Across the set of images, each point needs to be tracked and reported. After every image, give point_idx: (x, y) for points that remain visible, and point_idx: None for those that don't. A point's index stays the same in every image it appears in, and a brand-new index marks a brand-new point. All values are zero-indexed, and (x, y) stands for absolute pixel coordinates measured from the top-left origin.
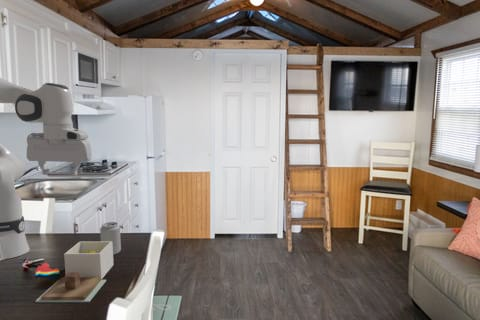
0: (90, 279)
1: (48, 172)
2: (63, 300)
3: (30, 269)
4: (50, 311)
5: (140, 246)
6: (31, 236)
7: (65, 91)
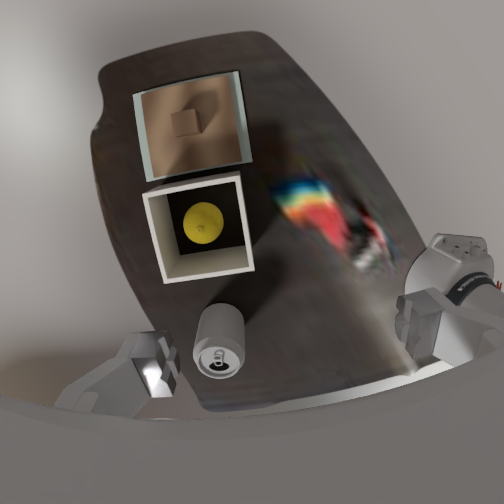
0: (170, 163)
1: (401, 328)
2: (182, 83)
3: (353, 210)
4: (186, 51)
5: None
6: None
7: None
